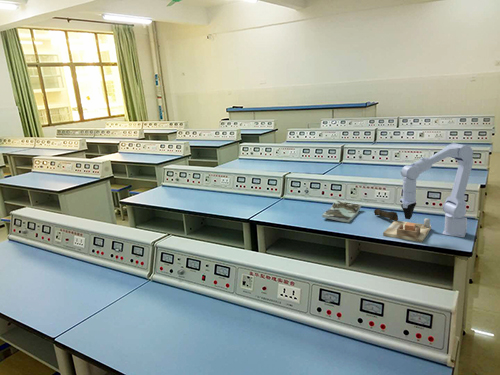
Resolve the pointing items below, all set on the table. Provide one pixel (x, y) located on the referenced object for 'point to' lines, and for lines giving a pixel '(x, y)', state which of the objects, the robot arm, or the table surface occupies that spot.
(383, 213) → the hand tool
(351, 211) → the topographical model
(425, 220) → the grey peg
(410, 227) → the terracotta block
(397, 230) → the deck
